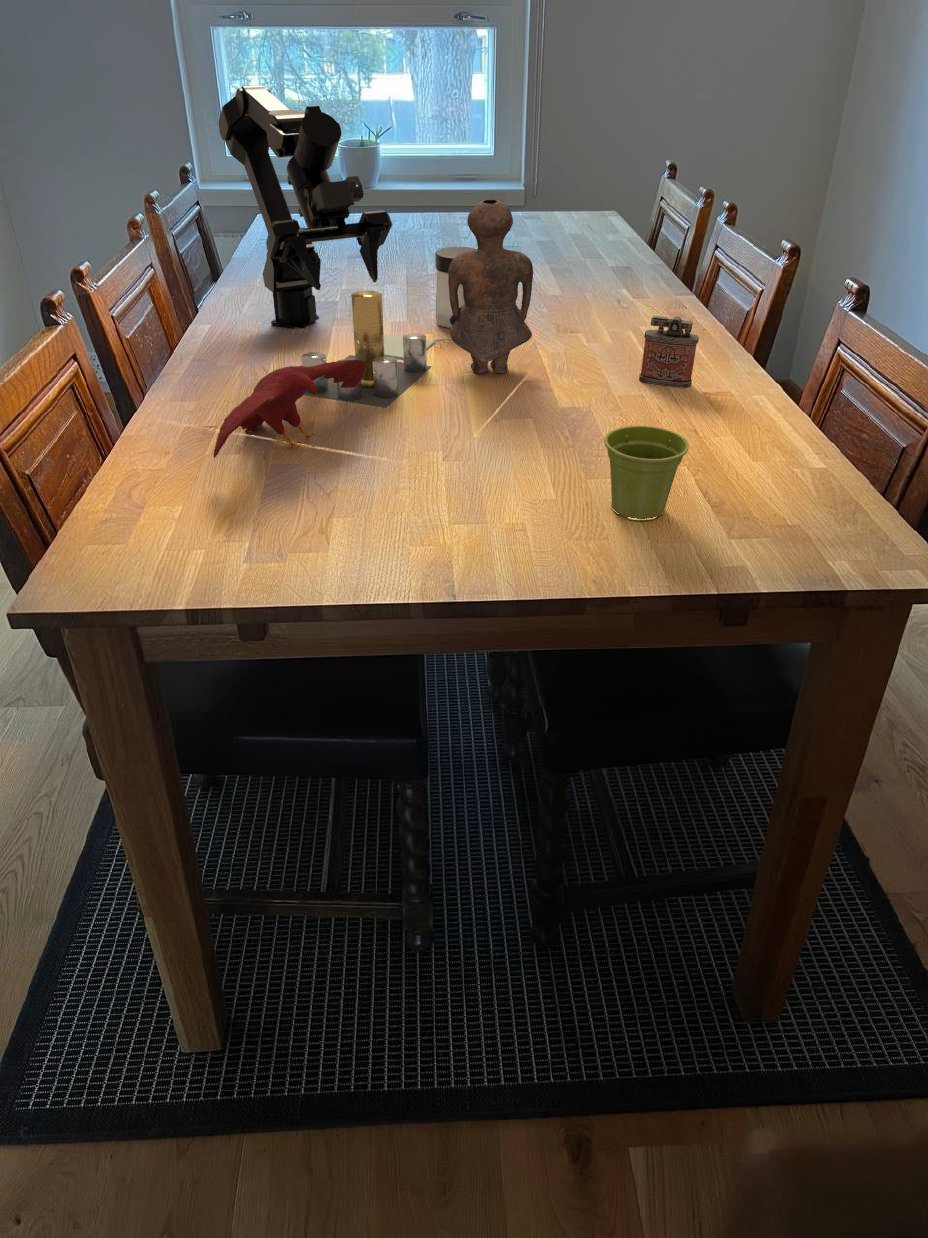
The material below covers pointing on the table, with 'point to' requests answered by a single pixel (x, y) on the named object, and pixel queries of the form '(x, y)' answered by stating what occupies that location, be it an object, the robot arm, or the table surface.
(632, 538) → the table surface
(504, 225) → the clay figurine
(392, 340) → the tile
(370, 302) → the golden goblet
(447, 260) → the jar
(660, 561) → the table surface
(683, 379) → the lighter
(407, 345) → the spacers
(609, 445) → the plant pot
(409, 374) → the mat
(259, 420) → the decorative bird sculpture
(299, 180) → the robot arm
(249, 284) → the table surface
